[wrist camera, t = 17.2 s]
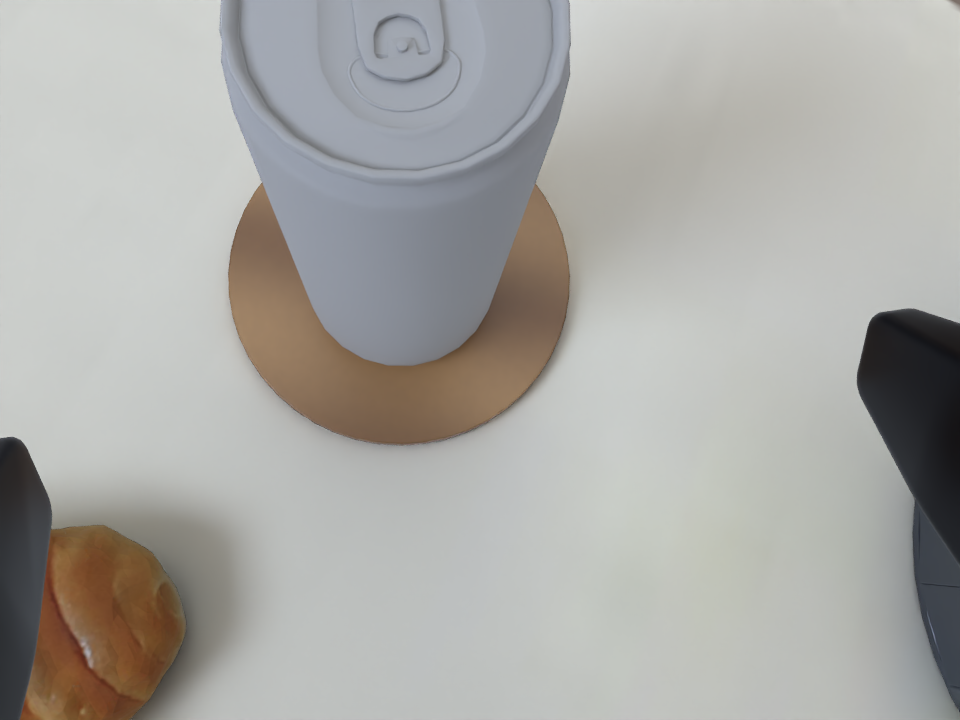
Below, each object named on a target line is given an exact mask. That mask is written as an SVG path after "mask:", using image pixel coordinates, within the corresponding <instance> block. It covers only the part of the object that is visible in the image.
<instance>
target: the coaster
mask: <svg viewBox="0 0 960 720" xmlns="http://www.w3.org/2000/svg"><path fill="white" fill-rule="evenodd" d="M228 277H229V298H230V304H231V310H232V316H233V319H234V322H235V325H236V329H237V332H238V335H239V338H240V340H241V342H242V344H243V346H244V348H245V350H246V353H247V355H248V357H249V358H250V360H251V361H252V363H253V365H254V366H255V368H256V369H257V371H258V372H259V374H260V375H261V377H262V378H263V379H264V380H265V381H266V382H267V383H268V385H269V386H270V387H271V388H272V389H273V390H274V391H275V393H276V394H277V395H278V396H279V397H280V398H282V399H283V400H284V401H285V402H286V403H287V404H288V405H290V406H291V407H292V408H293V409H294V410H295V411H297V412H299V413H300V414H302V415H303V416H305V417H306V418H308V419H309V420H311V421H312V422H314V423H316V424H318V425H320V426H322V427H324V428H326V429H328V430H330V431H332V432H334V433H337V434H340V435H343V436H346V437H349V438H352V439H355V440H360V441H365V442H371V443H376V444H387V445H414V444H425V443H430V442H435V441H440V440H445V439H449V438H451V437H454V436H457V435H460V434H463V433H466V432H468V431H470V430H472V429H474V428H476V427H478V426H480V425H482V424H484V423H486V422H488V421H490V420H491V419H493V418H494V417H496V416H497V415H499V414H500V413H501V412H503V411H504V410H506V409H507V408H508V407H509V406H510V405H512V404H513V403H514V402H515V401H516V400H517V399H518V398H519V397H521V396H522V395H523V394H524V392H525V391H526V390H527V389H528V388H529V387H530V385H531V384H532V383H533V382H534V381H535V380H536V378H537V377H538V376H539V374H540V373H541V371H542V370H543V368H544V367H545V365H546V363H547V362H548V360H549V359H550V357H551V355H552V353H553V351H554V348H555V346H556V344H557V342H558V340H559V337H560V334H561V331H562V328H563V324H564V321H565V318H566V312H567V306H568V300H569V280H570V275H569V265H568V256H567V251H566V247H565V243H564V239H563V235H562V232H561V230H560V227H559V224H558V222H557V219H556V217H555V214H554V213H553V211H552V209H551V207H550V205H549V203H548V202H547V200H546V198H545V196H544V195H543V194H542V192H541V191H540V189H539V188H538V187H537V185H536V184H535V185H534V188H533V190H532V193H531V196H530V199H529V201H528V204H527V207H526V209H525V212H524V215H523V217H522V220H521V223H520V226H519V228H518V231H517V234H516V236H515V239H514V242H513V245H512V247H511V250H510V253H509V255H508V258H507V261H506V264H505V266H504V269H503V272H502V274H501V277H500V280H499V283H498V285H497V288H496V291H495V293H494V296H493V299H492V302H491V304H490V307H489V310H488V312H487V313H486V315H485V317H484V318H483V320H482V322H481V324H480V325H479V327H478V329H477V330H476V331H475V332H474V333H473V334H472V335H471V336H470V337H469V338H468V339H467V340H466V341H465V342H464V343H463V344H462V345H461V346H460V347H459V348H457V349H456V350H454V351H452V352H450V353H448V354H447V355H445V356H443V357H441V358H439V359H438V360H434V361H430V362H426V363H422V364H418V365H414V366H388V365H384V364H381V363H377V362H373V361H369V360H366V359H363V358H361V357H359V356H358V355H356V354H354V353H353V352H351V351H349V350H347V349H346V348H344V347H342V346H341V345H340V344H339V343H338V342H337V341H336V340H335V339H334V338H333V337H332V336H331V335H330V334H329V333H328V332H327V331H326V330H325V329H324V327H323V325H322V323H321V322H320V320H319V318H318V316H317V315H316V313H315V311H314V309H313V307H312V305H311V302H310V300H309V297H308V295H307V292H306V290H305V287H304V285H303V282H302V280H301V277H300V275H299V273H298V270H297V268H296V265H295V263H294V260H293V258H292V255H291V253H290V250H289V248H288V245H287V243H286V240H285V238H284V235H283V233H282V230H281V228H280V225H279V223H278V220H277V218H276V215H275V213H274V210H273V208H272V206H271V203H270V201H269V198H268V196H267V193H266V191H265V188H264V186H263V183H261V185H260V186H259V187H258V189H257V190H256V191H255V193H254V194H253V196H252V198H251V200H250V201H249V203H248V205H247V207H246V208H245V210H244V212H243V215H242V217H241V220H240V222H239V225H238V227H237V230H236V233H235V237H234V241H233V245H232V249H231V254H230V263H229V272H228Z"/></svg>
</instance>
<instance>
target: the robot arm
mask: <svg viewBox="0 0 960 720" xmlns="http://www.w3.org/2000/svg"><path fill="white" fill-rule="evenodd" d="M857 386H858V390H859V394H860V396H861V399H862V400H863V402H864V404H865V406H866V408H867V410H868V412H869V414H870V416H871V417H872V419H873V421H874V423H875V425H876V427H877V429H878V431H879V432H880V434H881V436H882V438H883V440H884V442H885V444H886V446H887V448H888V449H889V451H890V453H891V455H892V457H893V459H894V461H895V463H896V465H897V466H898V468H899V470H900V472H901V474H902V476H903V478H904V480H905V482H906V483H907V485H908V487H909V489H910V491H911V492H912V494H913V496H914V498H915V499H916V501H917V503H918V505H919V506H920V508H921V509H922V511H923V512H924V514H925V516H926V517H927V519H928V520H929V522H930V523H931V525H932V526H933V528H934V529H935V531H936V532H937V534H938V535H939V537H940V538H941V540H942V541H943V543H944V544H945V545H946V547H947V548H948V550H949V551H950V553H951V554H952V556H953V557H954V559H955V560H956V562H957V563H958V565H959V566H960V324H959V323H956V322H953V321H950V320H947V319H944V318H941V317H938V316H935V315H932V314H929V313H926V312H923V311H920V310H917V309H901V310H894V311H887V312H881V313H878V314H877V315H875V316H874V317H873V318H872V319H871V321H870V323H869V326H868V329H867V333H866V338H865V342H864V346H863V351H862V355H861V359H860V364H859V368H858V372H857ZM51 524H52V510H51V504H50V500H49V497H48V494H47V492H46V490H45V488H44V486H43V483H42V481H41V479H40V477H39V474H38V472H37V470H36V468H35V465H34V463H33V461H32V459H31V456H30V454H29V452H28V450H27V448H26V446H25V445H24V444H23V442H22V441H21V440H19V439H17V438H15V437H6V438H0V720H20V717H21V713H22V709H23V705H24V701H25V697H26V693H27V689H28V685H29V681H30V677H31V672H32V667H33V663H34V658H35V653H36V646H37V639H38V633H39V624H40V616H41V608H42V599H43V591H44V582H45V574H46V566H47V557H48V549H49V540H50V532H51Z"/></svg>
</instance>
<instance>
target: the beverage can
mask: <svg viewBox="0 0 960 720" xmlns="http://www.w3.org/2000/svg"><path fill="white" fill-rule="evenodd" d="M219 30H220V35H221V39H222V53H221V63H222V67H223V71H224V76H225V80H226V84H227V88H228V92H229V96H230V100H231V104H232V108H233V111H234V114H235V116H236V119H237V121H238V124H239V126H240V129H241V131H242V134H243V136H244V138H245V141H246V143H247V146H248V148H249V151H250V153H251V156H252V158H253V161H254V163H255V166H256V168H257V171H258V173H259V176H260V178H261V181H262V183H263V186H264V188H265V191H266V193H267V196H268V198H269V201H270V203H271V206H272V208H273V210H274V213H275V215H276V218H277V220H278V223H279V225H280V228H281V230H282V233H283V235H284V238H285V240H286V243H287V245H288V248H289V250H290V253H291V255H292V258H293V260H294V263H295V265H296V268H297V270H298V273H299V275H300V277H301V280H302V282H303V285H304V287H305V290H306V292H307V295H308V297H309V300H310V302H311V305H312V307H313V309H314V311H315V313H316V315H317V316H318V318H319V320H320V322H321V323H322V325H323V327H324V329H325V330H326V331H327V332H328V333H329V334H330V335H331V336H332V337H333V338H334V339H335V340H336V341H337V342H338V343H339V344H340V345H341V346H342V347H344V348H346V349H347V350H349V351H351V352H353V353H354V354H356V355H358V356H359V357H361V358H363V359H366V360H369V361H373V362H377V363H381V364H384V365H388V366H414V365H418V364H422V363H426V362H430V361H434V360H438V359H439V358H441V357H443V356H445V355H447V354H448V353H450V352H452V351H454V350H456V349H457V348H459V347H460V346H461V345H462V344H463V343H464V342H465V341H466V340H467V339H468V338H469V337H470V336H471V335H472V334H473V333H474V332H475V331H476V330H477V329H478V327H479V325H480V324H481V322H482V320H483V318H484V317H485V315H486V313H487V312H488V310H489V307H490V304H491V302H492V299H493V296H494V293H495V291H496V288H497V285H498V283H499V280H500V277H501V274H502V272H503V269H504V266H505V264H506V261H507V258H508V255H509V253H510V250H511V247H512V245H513V242H514V239H515V236H516V234H517V231H518V228H519V226H520V223H521V220H522V217H523V215H524V212H525V209H526V207H527V204H528V201H529V199H530V196H531V193H532V190H533V188H534V185H535V182H536V180H537V177H538V174H539V171H540V169H541V166H542V163H543V161H544V158H545V155H546V152H547V150H548V147H549V144H550V142H551V139H552V136H553V133H554V131H555V128H556V125H557V123H558V120H559V116H560V112H561V108H562V104H563V100H564V97H565V93H566V89H567V85H568V81H569V77H570V57H569V50H570V46H571V38H570V3H569V0H221V12H220V29H219Z"/></svg>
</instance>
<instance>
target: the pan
mask: <svg viewBox="0 0 960 720" xmlns="http://www.w3.org/2000/svg"><path fill="white" fill-rule="evenodd" d="M913 547H914V566H915V578H916V584H917V589H918V595H919V601H920V607H921V613H922V617H923V621H924V624H925V628H926V631H927V634H928V638H929V641H930V644H931V648H932V651H933V654H934V658H935V660H936V662H937V665H938V667H939V669H940V672H941V674H942V676H943V679H944V681H945V684H946V686H947V688H948V691H949V693H950V695H951V698H952V699H953V701H954V703H955V705H956V706H957V708H958V710H959V712H960V566H959V565H958V563H957V562H956V560H955V559H954V557H953V556H952V554H951V553H950V551H949V550H948V548H947V547H946V545H945V544H944V543H943V541H942V540H941V538H940V537H939V535H938V534H937V532H936V531H935V529H934V528H933V526H932V525H931V523H930V522H929V520H928V519H927V517H926V516H925V514H924V512H923V511H922V509H921V508H920V506H919V505H918V503H917V501H916V499H915V511H914V525H913Z"/></svg>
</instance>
